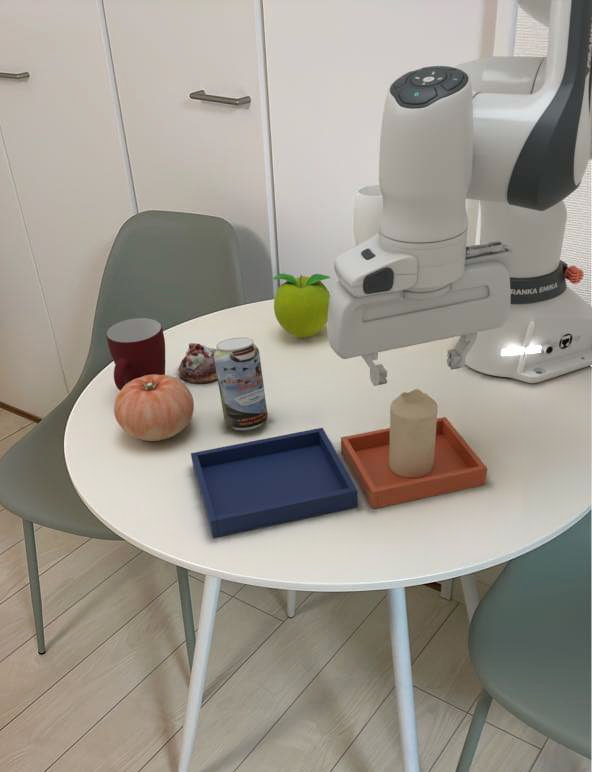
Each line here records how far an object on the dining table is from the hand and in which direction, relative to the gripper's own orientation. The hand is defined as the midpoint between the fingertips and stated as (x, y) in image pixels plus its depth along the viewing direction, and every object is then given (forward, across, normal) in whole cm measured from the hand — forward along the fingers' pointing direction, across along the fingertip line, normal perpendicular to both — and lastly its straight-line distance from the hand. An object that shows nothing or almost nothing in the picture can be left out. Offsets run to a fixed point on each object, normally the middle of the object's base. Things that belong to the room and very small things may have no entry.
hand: (417, 374), depth 87 cm
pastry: (+13, +21, -34) cm, 43 cm away
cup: (+14, -10, -42) cm, 46 cm away
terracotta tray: (+13, +1, +1) cm, 13 cm away
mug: (+13, +31, -30) cm, 45 cm away
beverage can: (+13, +18, -17) cm, 28 cm away
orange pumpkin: (+13, +30, -19) cm, 38 cm away
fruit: (+14, +3, -41) cm, 44 cm away
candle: (+12, +1, +1) cm, 13 cm away
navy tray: (+12, +18, -1) cm, 22 cm away
